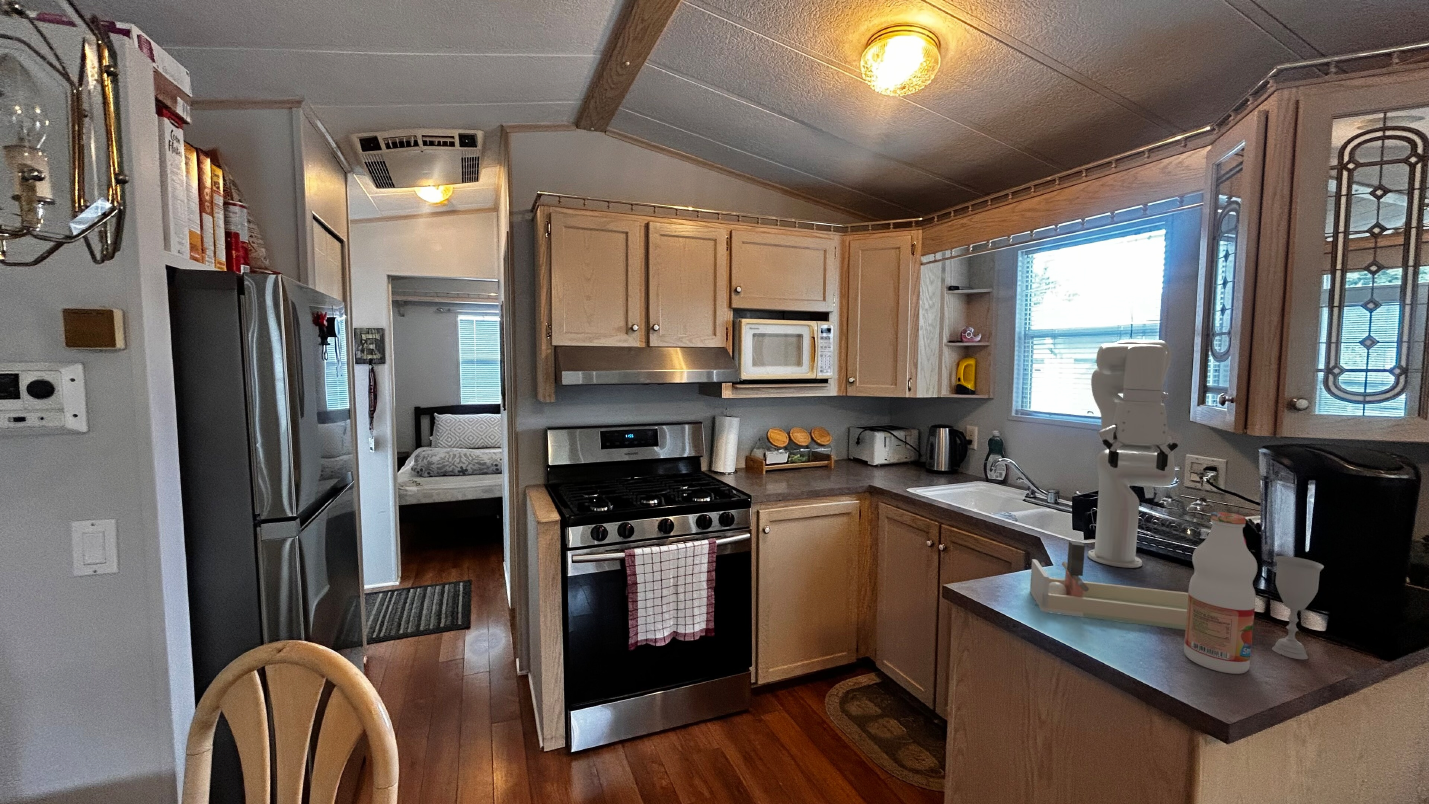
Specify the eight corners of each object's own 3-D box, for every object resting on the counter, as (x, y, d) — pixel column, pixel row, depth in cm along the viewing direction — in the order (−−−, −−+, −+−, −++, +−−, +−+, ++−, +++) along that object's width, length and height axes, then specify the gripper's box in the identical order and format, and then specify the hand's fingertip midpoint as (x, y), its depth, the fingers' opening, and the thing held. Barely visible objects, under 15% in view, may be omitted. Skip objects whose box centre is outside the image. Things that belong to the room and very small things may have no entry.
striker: (1057, 586, 143) (1061, 532, 142) (1068, 587, 142) (1072, 533, 141) (1077, 613, 128) (1081, 553, 127) (1090, 614, 127) (1094, 554, 126)
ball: (1067, 591, 137) (1050, 598, 138) (1057, 576, 138) (1041, 583, 139) (1072, 598, 133) (1055, 605, 134) (1062, 582, 134) (1045, 590, 135)
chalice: (1267, 640, 120) (1275, 553, 119) (1314, 652, 115) (1323, 562, 114) (1264, 652, 115) (1273, 561, 113) (1314, 666, 110) (1324, 571, 109)
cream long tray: (1030, 591, 143) (1032, 559, 142) (1187, 610, 134) (1189, 575, 133) (1042, 611, 132) (1044, 576, 131) (1214, 633, 123) (1217, 595, 122)
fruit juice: (1175, 645, 117) (1187, 506, 115) (1235, 655, 114) (1248, 511, 111) (1194, 668, 108) (1206, 518, 106) (1259, 679, 105) (1274, 524, 103)
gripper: (1177, 397, 142) (1172, 468, 143) (1095, 394, 147) (1090, 463, 148) (1193, 399, 135) (1187, 474, 136) (1105, 396, 139) (1100, 468, 141)
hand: (1136, 468), depth 142 cm, fingers open, 9 cm apart
